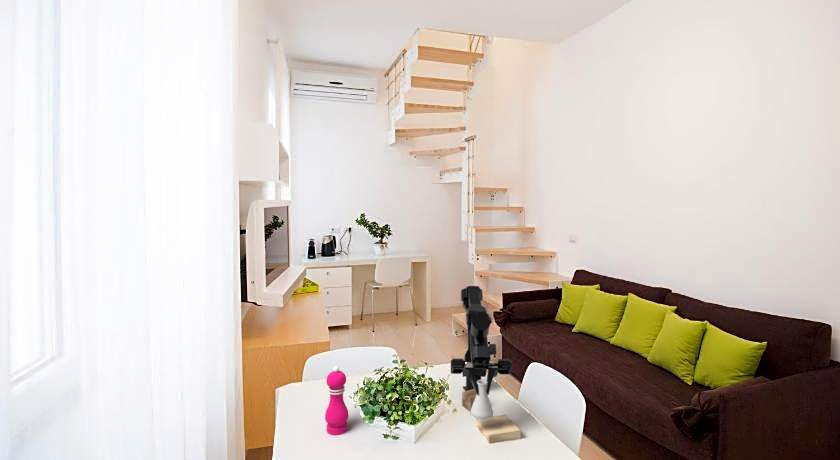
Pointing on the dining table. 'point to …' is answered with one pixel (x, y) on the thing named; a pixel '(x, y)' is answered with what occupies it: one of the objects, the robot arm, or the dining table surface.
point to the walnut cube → (468, 399)
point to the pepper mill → (336, 403)
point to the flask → (481, 402)
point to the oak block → (498, 429)
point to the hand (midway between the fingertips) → (482, 394)
